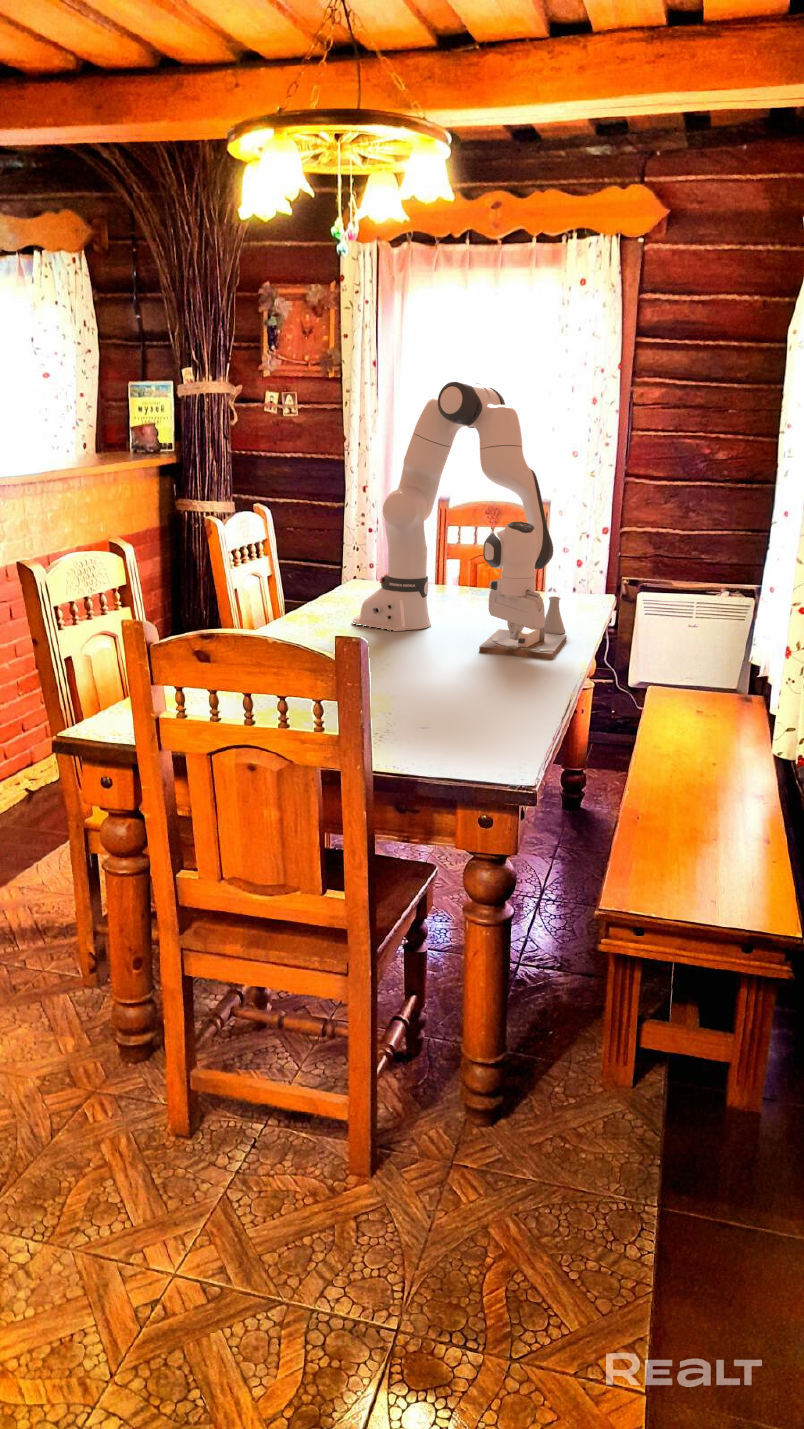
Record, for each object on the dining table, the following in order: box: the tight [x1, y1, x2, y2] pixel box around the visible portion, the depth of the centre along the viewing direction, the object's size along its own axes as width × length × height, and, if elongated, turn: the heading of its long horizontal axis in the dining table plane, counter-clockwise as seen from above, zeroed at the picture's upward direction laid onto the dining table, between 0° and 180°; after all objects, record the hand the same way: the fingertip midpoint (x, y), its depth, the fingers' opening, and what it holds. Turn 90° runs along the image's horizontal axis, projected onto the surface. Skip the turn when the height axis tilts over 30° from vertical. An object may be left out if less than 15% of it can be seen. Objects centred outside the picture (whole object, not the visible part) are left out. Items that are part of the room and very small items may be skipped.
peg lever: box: [518, 626, 545, 647], centre depth 273 cm, size 14×4×4 cm, turn 151°
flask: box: [544, 595, 566, 635], centre depth 292 cm, size 7×7×10 cm
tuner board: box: [478, 628, 568, 660], centre depth 277 cm, size 19×22×2 cm
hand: (514, 639), depth 271 cm, fingers closed
